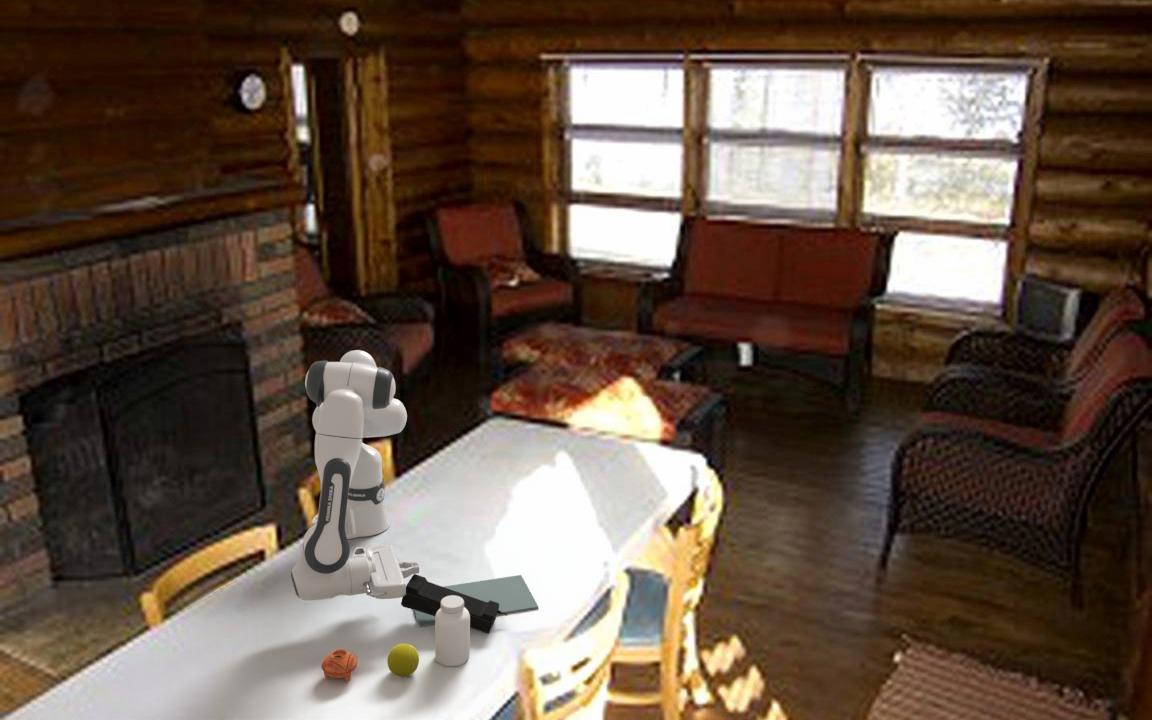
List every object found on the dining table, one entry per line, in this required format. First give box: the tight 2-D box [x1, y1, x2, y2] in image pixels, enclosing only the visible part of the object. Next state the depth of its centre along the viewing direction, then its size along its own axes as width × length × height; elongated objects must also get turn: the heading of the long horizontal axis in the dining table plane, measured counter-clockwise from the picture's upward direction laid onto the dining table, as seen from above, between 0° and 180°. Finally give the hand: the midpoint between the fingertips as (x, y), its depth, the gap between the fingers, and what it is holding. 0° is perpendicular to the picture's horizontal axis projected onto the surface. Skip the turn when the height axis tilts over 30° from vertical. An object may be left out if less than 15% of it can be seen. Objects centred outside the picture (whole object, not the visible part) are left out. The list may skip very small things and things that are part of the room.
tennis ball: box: [386, 643, 420, 678], centre depth 229 cm, size 7×7×7 cm
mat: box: [413, 574, 539, 629], centre depth 259 cm, size 30×16×1 cm, turn 109°
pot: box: [320, 648, 359, 683], centre depth 227 cm, size 8×8×7 cm
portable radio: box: [400, 574, 508, 634], centre depth 247 cm, size 8×6×25 cm
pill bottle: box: [434, 595, 471, 667], centre depth 234 cm, size 8×8×15 cm
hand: (418, 567), depth 251 cm, fingers closed
